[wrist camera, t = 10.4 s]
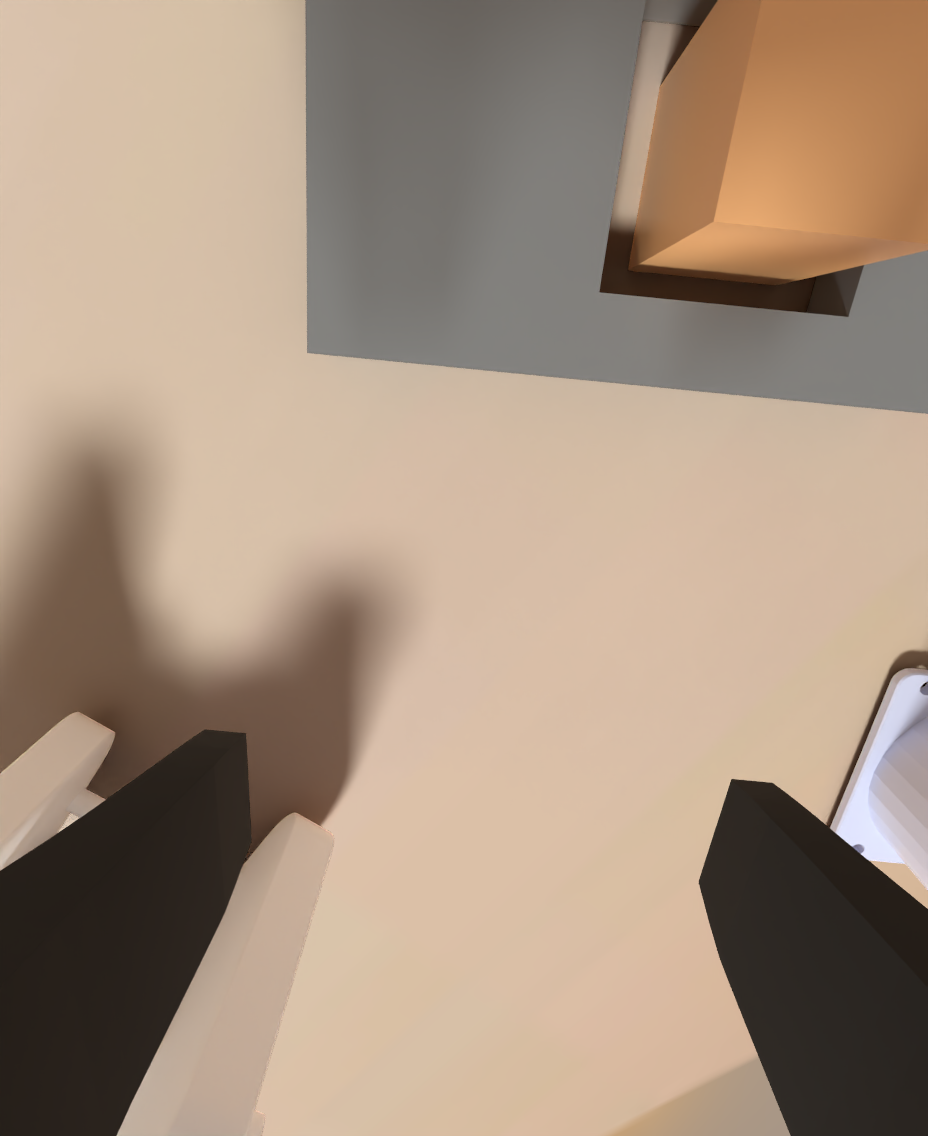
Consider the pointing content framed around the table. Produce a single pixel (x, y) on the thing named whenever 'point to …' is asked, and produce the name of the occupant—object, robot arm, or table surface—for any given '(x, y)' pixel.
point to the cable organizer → (231, 963)
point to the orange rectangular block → (789, 143)
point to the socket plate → (541, 215)
